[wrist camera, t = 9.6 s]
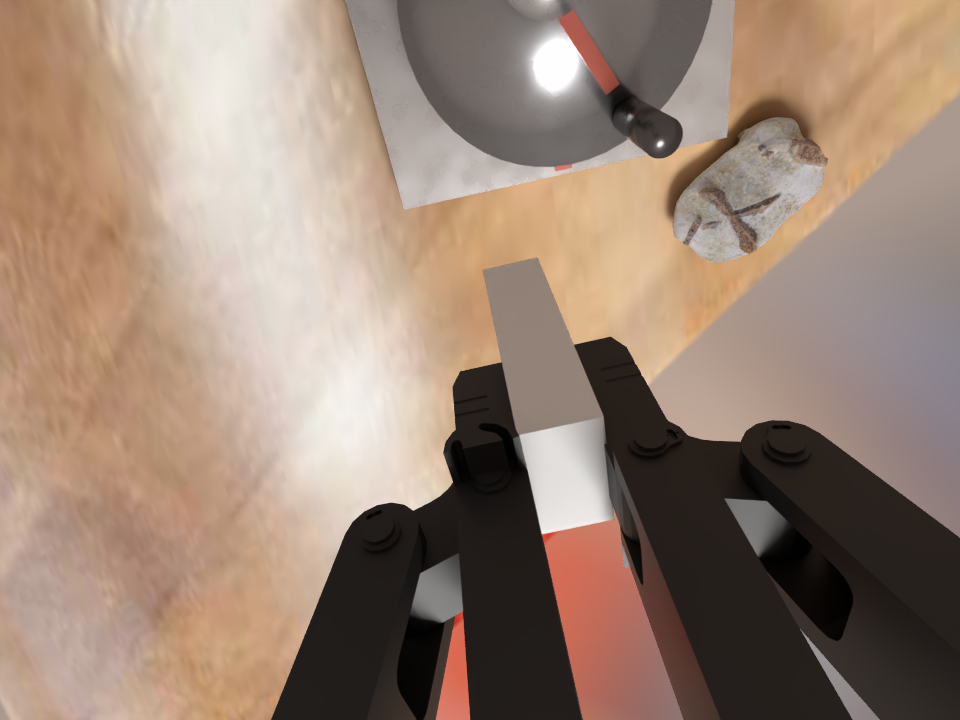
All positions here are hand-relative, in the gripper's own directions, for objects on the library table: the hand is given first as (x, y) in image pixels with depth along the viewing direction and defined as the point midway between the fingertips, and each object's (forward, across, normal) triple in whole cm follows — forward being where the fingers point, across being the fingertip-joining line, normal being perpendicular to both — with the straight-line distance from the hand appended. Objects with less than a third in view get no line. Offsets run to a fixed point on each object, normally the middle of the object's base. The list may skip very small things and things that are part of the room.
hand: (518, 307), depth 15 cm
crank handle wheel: (+20, +5, +6) cm, 22 cm away
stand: (+22, +5, +7) cm, 24 cm away
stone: (+23, +17, -8) cm, 30 cm away
